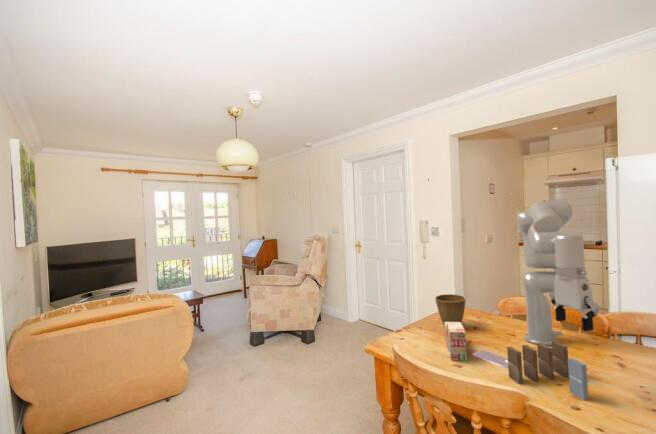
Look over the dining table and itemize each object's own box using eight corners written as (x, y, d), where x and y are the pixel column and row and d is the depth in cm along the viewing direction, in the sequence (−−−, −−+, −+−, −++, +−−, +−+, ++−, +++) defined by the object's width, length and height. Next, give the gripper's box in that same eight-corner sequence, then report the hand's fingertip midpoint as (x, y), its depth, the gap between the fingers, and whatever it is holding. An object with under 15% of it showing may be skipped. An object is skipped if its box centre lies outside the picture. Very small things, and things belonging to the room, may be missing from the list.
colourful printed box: (445, 340, 152) (443, 315, 152) (459, 341, 150) (457, 315, 150) (451, 361, 131) (449, 331, 131) (467, 361, 129) (465, 331, 130)
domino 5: (574, 391, 105) (572, 358, 105) (588, 399, 100) (586, 364, 100) (569, 392, 104) (567, 358, 104) (583, 400, 99) (581, 365, 99)
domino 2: (528, 374, 117) (526, 344, 117) (538, 381, 112) (536, 350, 112) (524, 375, 117) (522, 345, 117) (534, 382, 112) (532, 350, 112)
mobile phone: (482, 348, 139) (516, 361, 126) (482, 351, 139) (516, 363, 126) (471, 353, 135) (505, 366, 122) (471, 355, 135) (505, 369, 122)
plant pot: (445, 321, 178) (443, 292, 178) (472, 327, 167) (470, 296, 167) (431, 328, 168) (429, 298, 168) (459, 335, 157) (457, 303, 157)
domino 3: (542, 372, 117) (541, 342, 117) (554, 379, 112) (552, 348, 113) (538, 373, 117) (537, 343, 117) (549, 379, 112) (548, 348, 112)
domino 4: (557, 370, 118) (555, 341, 118) (569, 377, 113) (567, 346, 113) (553, 371, 118) (551, 341, 118) (565, 377, 113) (563, 346, 113)
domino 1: (513, 376, 116) (511, 346, 116) (523, 383, 111) (521, 352, 111) (508, 377, 116) (507, 346, 116) (518, 384, 111) (516, 352, 111)
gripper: (607, 275, 94) (611, 333, 94) (558, 267, 111) (561, 316, 111) (584, 277, 93) (588, 336, 93) (538, 269, 111) (542, 318, 110)
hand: (573, 325), depth 102 cm, fingers open, 9 cm apart
